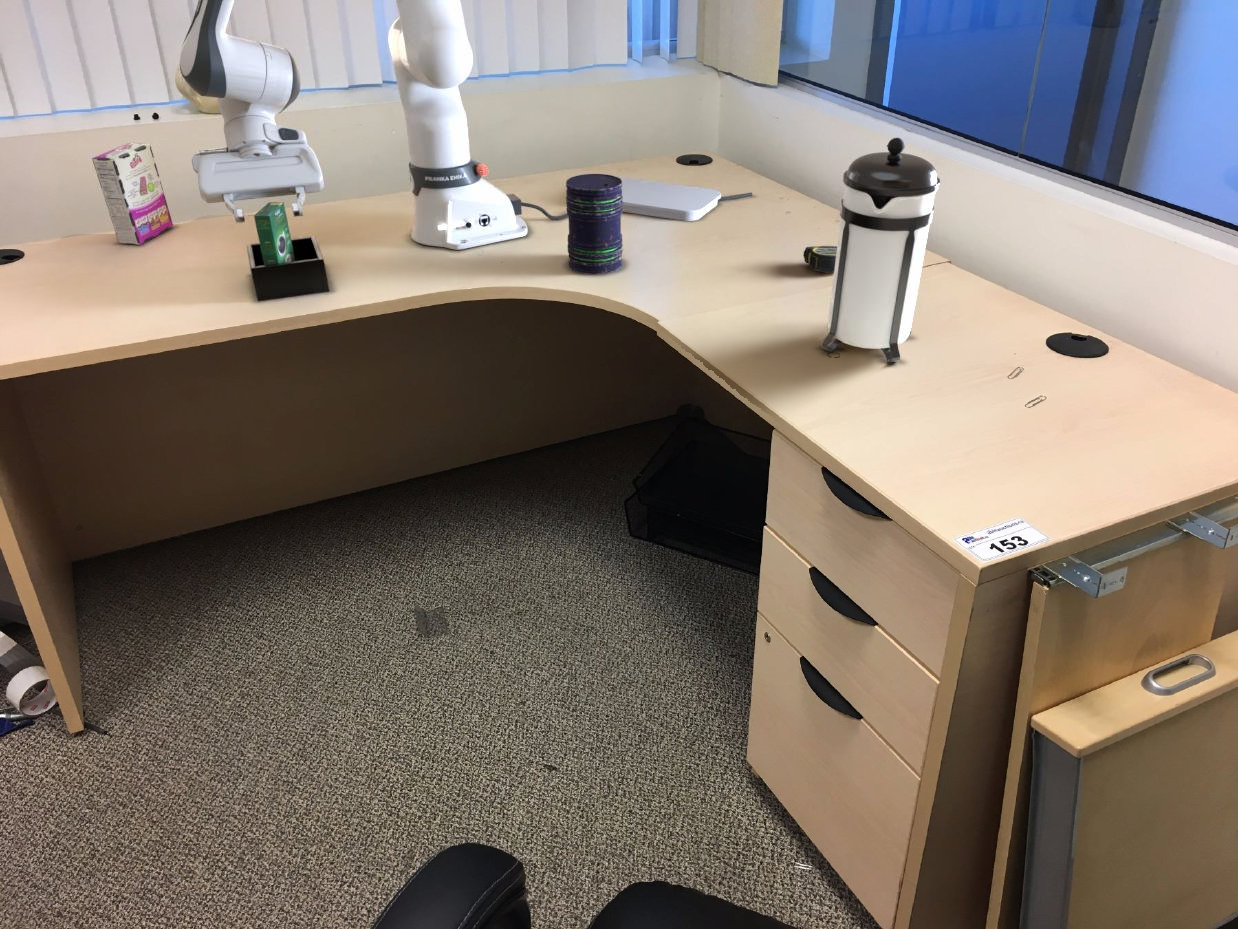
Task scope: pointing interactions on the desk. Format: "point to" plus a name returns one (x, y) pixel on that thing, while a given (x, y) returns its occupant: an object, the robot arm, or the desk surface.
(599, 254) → the storage jar
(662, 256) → the desk surface
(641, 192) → the tablet
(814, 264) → the tape measure
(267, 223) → the coffee box
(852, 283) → the coffee press
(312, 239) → the desk tray
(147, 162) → the candy bar box
